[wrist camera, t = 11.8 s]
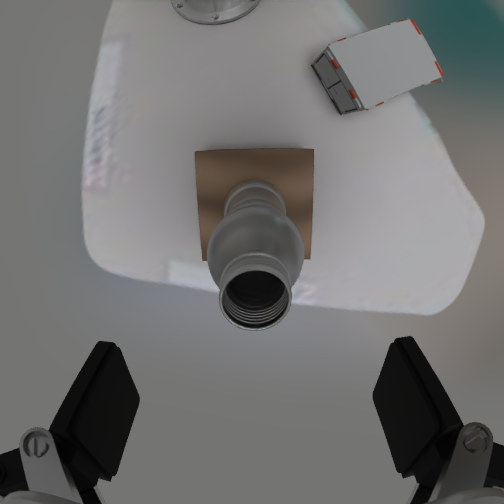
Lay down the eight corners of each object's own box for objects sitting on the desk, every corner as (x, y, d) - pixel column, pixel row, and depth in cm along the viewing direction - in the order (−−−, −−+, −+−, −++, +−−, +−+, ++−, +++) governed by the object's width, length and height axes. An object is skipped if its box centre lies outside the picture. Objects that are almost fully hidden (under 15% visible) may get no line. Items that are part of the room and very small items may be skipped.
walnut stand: (203, 149, 36) (194, 151, 30) (304, 147, 36) (313, 149, 30) (209, 243, 41) (202, 261, 35) (302, 241, 41) (310, 259, 35)
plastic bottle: (218, 223, 33) (177, 333, 15) (237, 167, 31) (210, 216, 13) (271, 240, 34) (288, 363, 16) (292, 186, 32) (344, 261, 13)
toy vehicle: (432, 81, 31) (472, 74, 22) (340, 122, 34) (368, 119, 25) (401, 26, 28) (435, 6, 19) (304, 61, 31) (320, 38, 22)
